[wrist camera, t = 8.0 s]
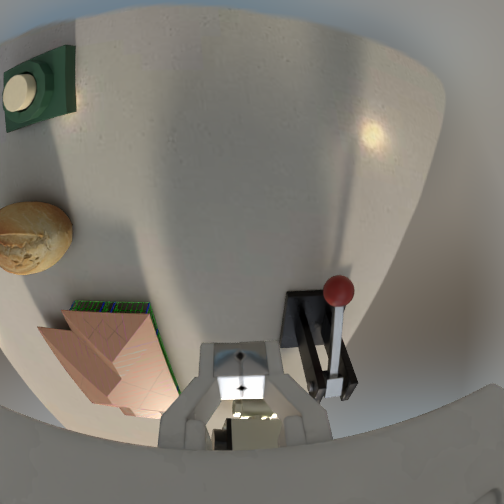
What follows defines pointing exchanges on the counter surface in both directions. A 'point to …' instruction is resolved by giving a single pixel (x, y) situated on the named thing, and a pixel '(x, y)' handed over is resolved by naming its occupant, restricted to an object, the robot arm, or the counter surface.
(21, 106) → the button
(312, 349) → the bracket
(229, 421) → the ball valve
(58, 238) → the bread roll
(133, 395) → the house
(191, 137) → the counter surface
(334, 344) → the lever
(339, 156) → the counter surface
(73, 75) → the control block
